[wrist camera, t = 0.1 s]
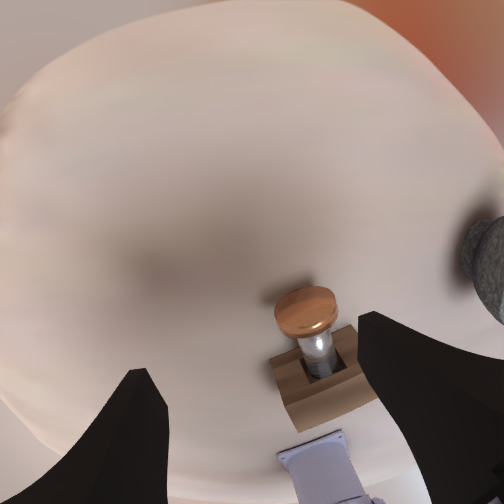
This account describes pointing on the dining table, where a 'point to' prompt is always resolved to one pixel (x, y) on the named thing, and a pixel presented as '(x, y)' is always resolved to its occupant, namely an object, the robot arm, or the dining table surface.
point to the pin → (311, 326)
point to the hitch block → (322, 384)
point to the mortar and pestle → (486, 263)
